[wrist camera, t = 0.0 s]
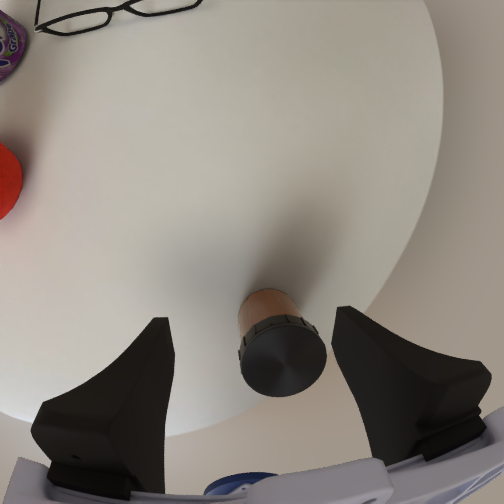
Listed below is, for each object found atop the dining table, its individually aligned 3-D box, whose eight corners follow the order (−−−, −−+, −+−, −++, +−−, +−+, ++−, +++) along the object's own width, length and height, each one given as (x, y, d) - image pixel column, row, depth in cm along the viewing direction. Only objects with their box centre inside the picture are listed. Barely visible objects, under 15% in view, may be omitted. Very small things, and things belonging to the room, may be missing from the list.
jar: (271, 352, 27) (286, 400, 20) (226, 322, 25) (228, 368, 19) (308, 310, 26) (335, 350, 19) (263, 277, 25) (279, 311, 18)
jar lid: (283, 394, 21) (288, 408, 19) (221, 359, 20) (222, 373, 18) (335, 340, 20) (344, 352, 19) (275, 297, 19) (280, 307, 18)
